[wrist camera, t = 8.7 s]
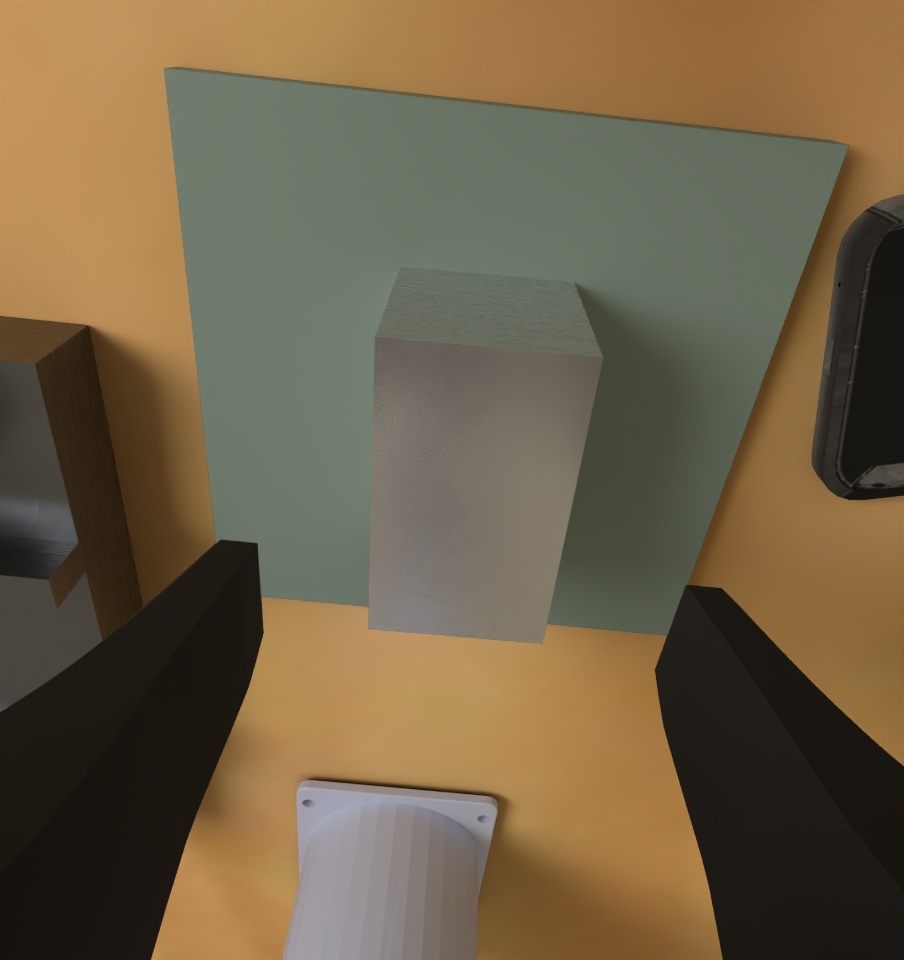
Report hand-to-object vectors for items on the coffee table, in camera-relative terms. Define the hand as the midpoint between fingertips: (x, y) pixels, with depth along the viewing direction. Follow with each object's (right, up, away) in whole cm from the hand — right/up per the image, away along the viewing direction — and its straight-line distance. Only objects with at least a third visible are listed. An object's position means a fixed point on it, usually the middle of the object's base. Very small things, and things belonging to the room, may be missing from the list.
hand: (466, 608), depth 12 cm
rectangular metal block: (0, +4, +6) cm, 7 cm away
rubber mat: (0, +4, +7) cm, 8 cm away
